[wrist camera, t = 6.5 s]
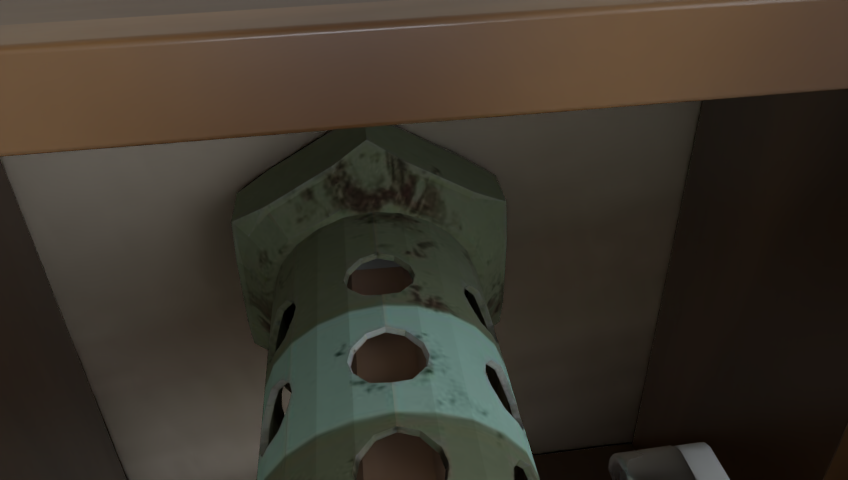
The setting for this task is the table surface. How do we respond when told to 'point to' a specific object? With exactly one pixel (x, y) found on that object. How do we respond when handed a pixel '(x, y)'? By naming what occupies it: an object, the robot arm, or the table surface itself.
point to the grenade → (380, 312)
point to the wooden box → (469, 99)
